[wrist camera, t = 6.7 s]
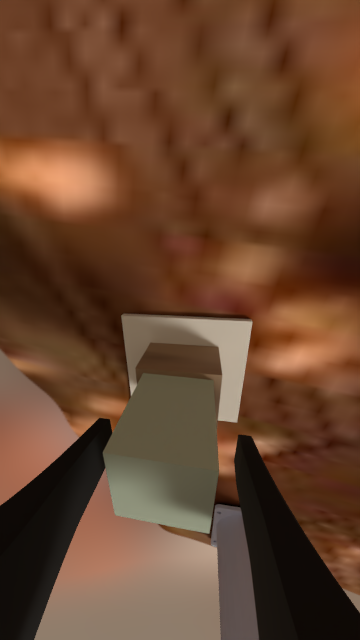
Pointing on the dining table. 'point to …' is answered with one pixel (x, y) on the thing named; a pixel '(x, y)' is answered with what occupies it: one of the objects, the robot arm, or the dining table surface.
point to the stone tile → (194, 331)
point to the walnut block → (183, 364)
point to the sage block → (166, 453)
